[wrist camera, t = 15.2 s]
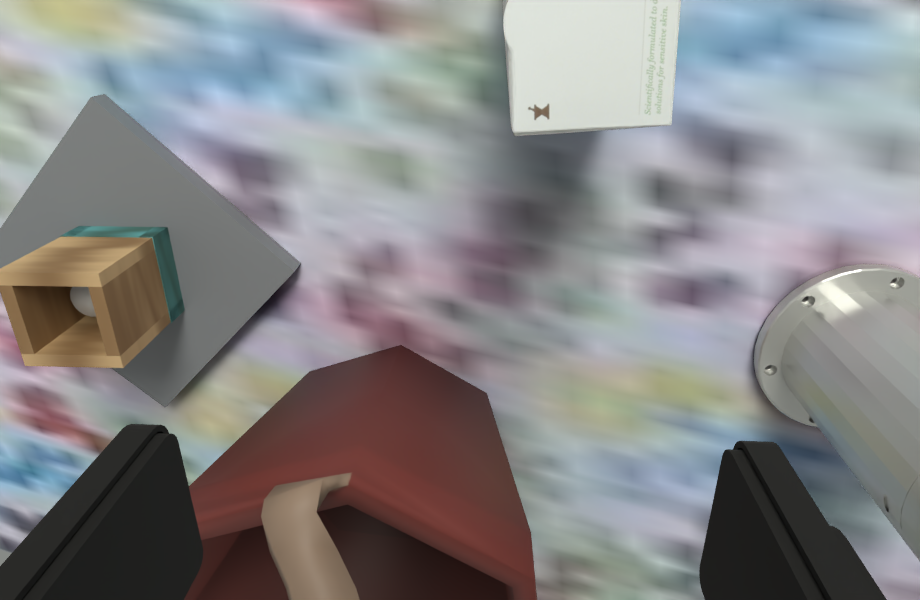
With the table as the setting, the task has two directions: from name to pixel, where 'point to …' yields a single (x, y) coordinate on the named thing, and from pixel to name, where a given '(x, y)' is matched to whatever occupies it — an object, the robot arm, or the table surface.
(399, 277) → the table surface
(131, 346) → the wooden sleeve
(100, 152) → the pin board
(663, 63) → the skincare box
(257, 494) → the bucket
